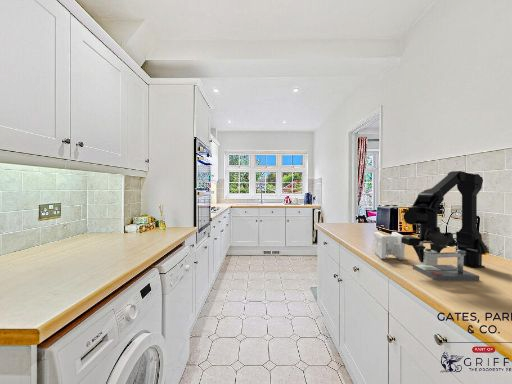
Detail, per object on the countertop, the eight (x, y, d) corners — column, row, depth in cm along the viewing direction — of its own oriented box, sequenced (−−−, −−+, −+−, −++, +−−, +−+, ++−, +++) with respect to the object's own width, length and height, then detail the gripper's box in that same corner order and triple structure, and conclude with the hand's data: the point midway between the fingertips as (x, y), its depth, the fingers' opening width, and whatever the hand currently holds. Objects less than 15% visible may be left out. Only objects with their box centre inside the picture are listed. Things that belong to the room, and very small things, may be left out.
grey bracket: (422, 273, 94) (423, 250, 94) (459, 272, 97) (460, 249, 97) (429, 276, 92) (429, 252, 91) (466, 274, 94) (467, 251, 94)
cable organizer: (405, 262, 116) (406, 236, 116) (380, 260, 118) (381, 235, 118) (394, 253, 131) (394, 231, 130) (372, 252, 133) (372, 230, 132)
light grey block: (429, 262, 105) (429, 247, 105) (437, 265, 101) (437, 250, 101) (418, 262, 105) (418, 247, 105) (426, 265, 101) (426, 250, 100)
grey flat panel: (450, 268, 107) (450, 263, 107) (479, 280, 94) (479, 274, 94) (412, 268, 107) (412, 263, 107) (436, 280, 93) (436, 274, 93)
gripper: (418, 226, 94) (417, 268, 95) (468, 226, 95) (467, 268, 95) (401, 222, 105) (400, 260, 106) (445, 222, 106) (444, 260, 106)
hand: (427, 262), depth 103 cm, fingers closed on light grey block, 4 cm apart
